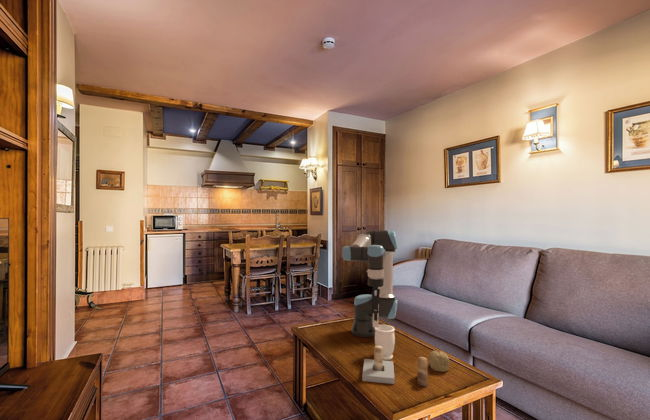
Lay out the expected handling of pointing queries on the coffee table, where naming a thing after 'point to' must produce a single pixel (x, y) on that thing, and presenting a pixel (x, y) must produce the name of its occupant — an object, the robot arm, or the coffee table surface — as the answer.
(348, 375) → the coffee table surface
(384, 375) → the hole plate
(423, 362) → the oak pin
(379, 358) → the birch pin
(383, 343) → the jar
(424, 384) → the walnut pin
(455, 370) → the coffee table surface
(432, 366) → the decorative object
